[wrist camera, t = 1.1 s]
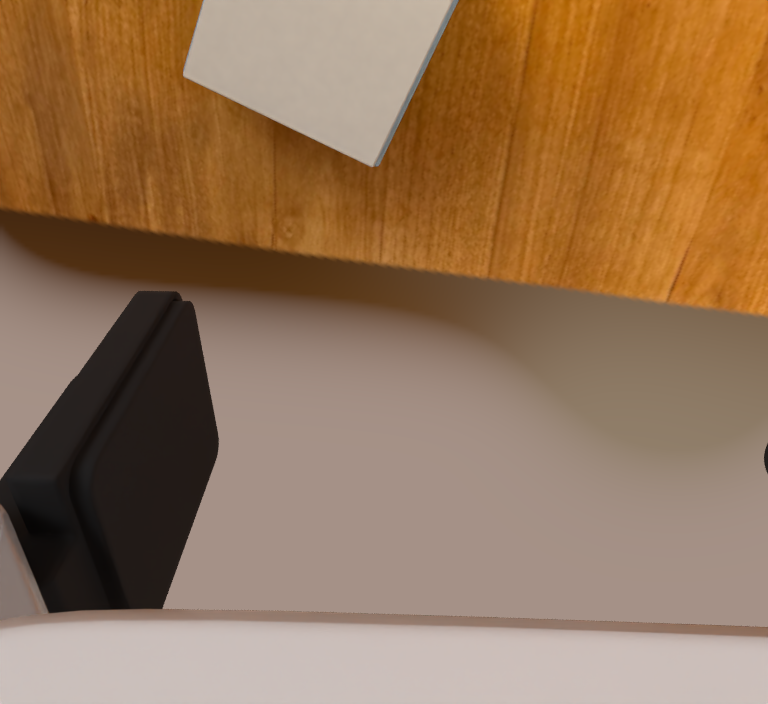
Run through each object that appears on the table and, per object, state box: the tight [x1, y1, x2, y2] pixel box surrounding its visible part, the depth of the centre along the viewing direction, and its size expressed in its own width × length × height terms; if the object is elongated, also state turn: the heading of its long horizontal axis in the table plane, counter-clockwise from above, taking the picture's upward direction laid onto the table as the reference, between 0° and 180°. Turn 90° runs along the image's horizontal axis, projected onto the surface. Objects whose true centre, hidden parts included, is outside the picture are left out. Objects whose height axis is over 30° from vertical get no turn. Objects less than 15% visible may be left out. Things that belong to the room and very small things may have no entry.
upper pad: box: [183, 0, 459, 167], centre depth 19 cm, size 6×6×4 cm
